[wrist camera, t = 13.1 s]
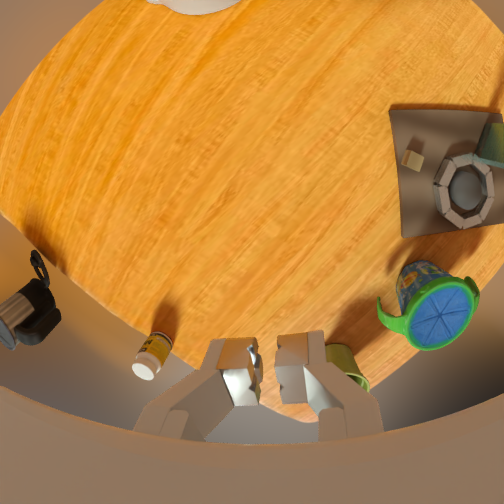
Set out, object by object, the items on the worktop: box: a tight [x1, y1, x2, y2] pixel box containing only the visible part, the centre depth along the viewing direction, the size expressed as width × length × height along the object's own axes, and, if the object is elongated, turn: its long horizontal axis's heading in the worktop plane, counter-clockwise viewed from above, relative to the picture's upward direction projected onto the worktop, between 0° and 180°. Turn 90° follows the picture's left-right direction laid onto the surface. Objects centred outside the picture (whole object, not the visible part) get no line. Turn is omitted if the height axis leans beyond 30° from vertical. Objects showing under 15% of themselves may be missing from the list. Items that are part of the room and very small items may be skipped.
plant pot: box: [325, 344, 370, 393], centre depth 41 cm, size 9×9×9 cm
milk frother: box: [0, 250, 61, 350], centre depth 42 cm, size 14×16×15 cm
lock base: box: [389, 110, 504, 238], centre depth 30 cm, size 17×20×3 cm
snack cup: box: [377, 260, 480, 350], centre depth 34 cm, size 16×10×10 cm
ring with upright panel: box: [433, 123, 504, 230], centre depth 24 cm, size 13×13×14 cm
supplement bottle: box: [132, 332, 173, 380], centre depth 45 cm, size 5×5×8 cm
